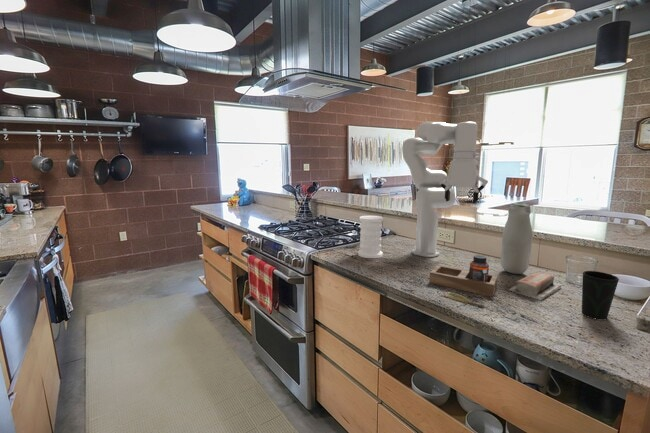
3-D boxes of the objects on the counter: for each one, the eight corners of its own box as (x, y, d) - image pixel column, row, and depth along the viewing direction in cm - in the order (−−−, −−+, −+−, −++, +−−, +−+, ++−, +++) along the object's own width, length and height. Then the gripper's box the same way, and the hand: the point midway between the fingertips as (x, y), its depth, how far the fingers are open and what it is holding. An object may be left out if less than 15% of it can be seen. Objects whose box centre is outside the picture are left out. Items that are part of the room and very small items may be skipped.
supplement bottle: (489, 291, 107) (492, 259, 105) (470, 290, 108) (472, 258, 106) (484, 285, 113) (486, 254, 111) (466, 283, 114) (468, 253, 112)
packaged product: (543, 287, 99) (509, 278, 107) (541, 302, 100) (508, 292, 108) (563, 275, 110) (531, 268, 118) (561, 289, 111) (529, 280, 119)
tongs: (483, 311, 94) (483, 305, 94) (442, 299, 104) (442, 293, 103) (488, 307, 97) (489, 301, 97) (448, 296, 106) (448, 290, 106)
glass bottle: (530, 272, 126) (538, 202, 121) (524, 279, 119) (533, 205, 114) (502, 266, 133) (509, 200, 128) (495, 272, 125) (502, 203, 121)
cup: (570, 309, 94) (575, 271, 92) (594, 308, 95) (600, 270, 93) (594, 322, 87) (600, 280, 85) (619, 321, 87) (626, 280, 85)
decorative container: (387, 256, 147) (388, 218, 144) (365, 259, 142) (366, 220, 139) (374, 250, 157) (375, 214, 154) (353, 252, 153) (354, 216, 150)
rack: (437, 274, 123) (437, 264, 123) (496, 286, 112) (497, 275, 111) (429, 283, 115) (429, 272, 114) (492, 296, 103) (493, 285, 102)
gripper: (491, 156, 116) (487, 202, 119) (442, 156, 126) (440, 199, 129) (488, 156, 110) (484, 204, 113) (437, 156, 120) (435, 201, 123)
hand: (460, 201), depth 121 cm, fingers open, 9 cm apart
